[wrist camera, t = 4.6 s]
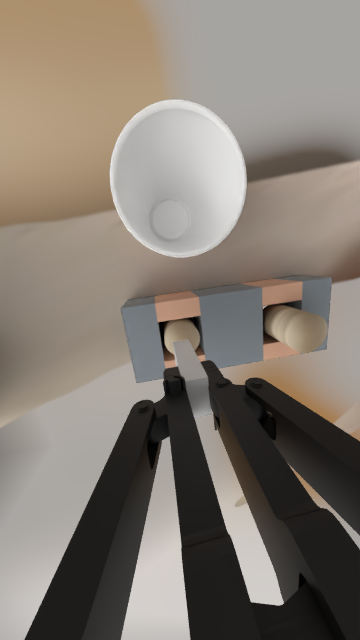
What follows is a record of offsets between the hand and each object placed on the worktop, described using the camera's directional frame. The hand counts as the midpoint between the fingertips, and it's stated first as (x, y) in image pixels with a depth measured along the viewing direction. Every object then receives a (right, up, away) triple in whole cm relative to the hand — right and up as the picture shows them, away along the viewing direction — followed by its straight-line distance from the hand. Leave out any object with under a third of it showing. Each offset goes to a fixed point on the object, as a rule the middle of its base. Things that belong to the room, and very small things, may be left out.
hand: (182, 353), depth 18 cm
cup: (-1, +16, +7) cm, 17 cm away
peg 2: (+12, +3, +7) cm, 14 cm away
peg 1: (-1, +2, +10) cm, 10 cm away
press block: (+5, +3, +10) cm, 12 cm away
